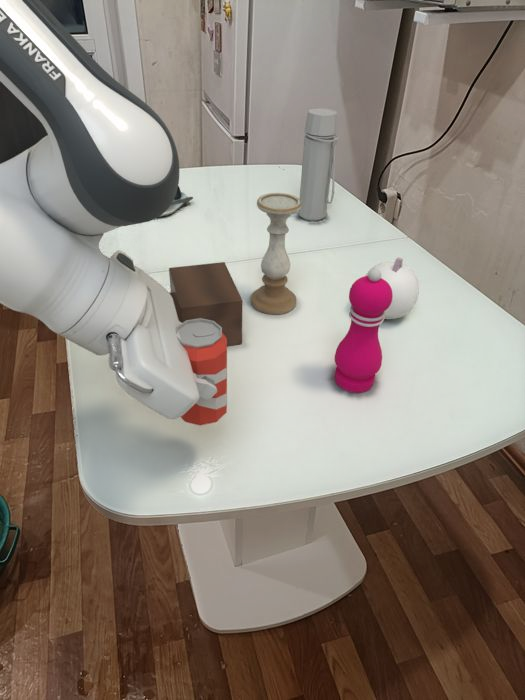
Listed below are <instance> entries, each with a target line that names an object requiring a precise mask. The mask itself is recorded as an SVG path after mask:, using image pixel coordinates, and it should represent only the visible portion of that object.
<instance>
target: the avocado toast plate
mask: <svg viewBox="0 0 525 700" xmlns="http://www.w3.org/2000/svg"><path fill="white" fill-rule="evenodd" d="M193 199H194V197H193V196H188V195H187V194H186V193H185V192H183V191H181V188H180V185H178V189H177V192H176V195H175V198H174V200H173V202H172V203H171V205H170V207H169V208H168V209H167V210H166V211H165V212H164V213H163V214H162V215H161V216H159V217H166V216H169V215H171V214H173V213H174V212H176V211H177V210H179V209H180V208H182V207H183V206H184V205H185V204H187V203H188V202H190V201H192V200H193ZM159 217H158V218H159Z"/></svg>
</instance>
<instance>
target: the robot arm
mask: <svg viewBox="0 0 525 700" xmlns="http://www.w3.org/2000/svg"><path fill="white" fill-rule="evenodd" d="M0 83H2V84H3V85H4V86H5V88H7V89H8V91H10V92H11V93H12V95H14V96H15V98H16V99H18V100H19V101H20V103H22V104H23V105H24V107H26V108H27V109H28V110H29V111H30V112H31V113H32V114H33V115H34V116H35V118H37V120H39V122H40V123H41V124H42V126H43V128H44V129H45V132H46V134H47V135H45V136H44V137H42V138H41V139H40V140H39V141H37V142H36V143H35V144H34V145H32V146H30V147H29V148H27V149H25V150H24V151H22V152H21V153H18V154H17V155H15V156H14V157H11V158H10V159H8V160H6V161H4V162H1V163H0V304H1V305H2V306H4V307H7V308H8V309H11V310H12V311H15V312H18V313H23V314H26V315H29V316H32V317H34V318H36V319H37V320H39V321H41V322H42V323H43V324H44V325H45V327H47V328H48V329H49V330H50V331H51V332H52V333H55V334H56V335H59V336H61V337H62V338H64V339H66V340H68V341H70V342H72V343H74V344H76V345H77V346H78V347H81V348H83V349H85V350H87V351H88V352H90V353H92V354H94V355H96V356H106V355H108V354H109V356H108V366H109V368H110V370H112V371H113V372H115V377H116V380H117V383H118V384H119V386H120V388H122V389H123V391H124V392H126V393H127V394H128V396H131V397H132V398H133V399H135V400H136V401H138V402H139V403H141V404H142V405H144V406H145V407H147V408H149V409H150V410H152V411H154V412H155V413H157V414H159V415H161V416H162V417H163V418H166V419H168V420H177V419H180V418H181V416H183V415H184V414H185V413H186V412H187V411H188V410H189V409H190V408H191V407H192V406H193V405H194V404H195V403H196V402H197V401H198V400H199V396H200V397H202V398H204V399H207V400H208V399H210V398H212V397H213V396H214V395H215V394H216V393H217V388H216V385H215V383H214V381H213V380H211V379H210V378H208V377H207V376H204V377H203V378H202V379H200V378H197V376H196V374H195V373H193V371H192V367H191V363H190V360H189V356H188V352H187V351H186V349H185V348H184V346H183V345H182V343H181V342H180V341H179V340H178V338H179V339H180V335H179V331H178V332H177V335H176V327H177V326H179V325H180V324H182V323H181V322H180V321H179V320H178V316H177V312H176V309H175V305H174V301H173V298H172V296H171V295H170V294H169V292H170V291H168V290H167V289H166V287H164V286H163V285H162V284H161V283H160V282H158V281H157V280H156V279H155V278H153V277H152V276H151V275H150V274H148V272H146V271H145V270H143V269H141V268H140V267H138V266H137V265H135V264H134V260H133V258H132V257H131V256H129V254H127V253H125V252H124V251H122V250H120V249H117V250H116V251H115V252H113V254H111V256H110V257H109V256H107V255H105V254H104V253H102V251H101V249H100V242H101V240H102V238H103V236H104V234H106V233H109V232H111V231H114V230H116V229H119V228H121V227H126V226H127V227H129V226H134V225H139V224H145V223H148V222H151V221H153V220H157V219H158V218H159V216H160V217H162V216H161V215H162V214H163V213H164V212H165V211H166V210H167V209H168V208H169V207H170V205H171V203H172V202H173V200H174V198H175V195H176V192H177V189H178V186H179V183H180V159H179V154H178V150H177V145H176V143H175V140H174V138H173V136H172V133H171V132H170V130H169V127H167V126H168V125H166V123H165V122H164V120H163V119H162V118H161V117H160V116H159V114H158V113H156V112H155V111H154V109H153V108H152V107H151V106H149V104H147V103H146V102H145V101H144V100H142V99H141V98H139V97H138V96H137V95H136V94H134V93H133V92H132V91H130V90H129V89H128V88H127V87H125V86H124V85H122V84H121V83H120V82H119V81H117V80H116V79H115V78H113V77H112V75H111V74H109V73H108V72H107V71H106V70H105V69H104V68H103V67H102V66H101V65H100V64H99V63H98V62H97V61H96V60H95V59H94V58H93V56H91V55H90V53H89V52H88V51H87V50H86V49H85V48H84V47H83V46H82V45H81V44H80V43H79V42H78V40H76V38H75V37H74V36H73V35H72V34H71V33H70V32H69V31H68V30H67V28H66V27H65V26H64V25H63V24H62V23H61V22H60V21H59V20H58V19H57V18H56V17H55V15H54V14H53V12H51V10H49V9H48V8H47V6H45V5H44V4H43V2H42V1H41V0H0ZM177 337H178V338H177Z"/></svg>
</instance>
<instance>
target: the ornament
mask: <svg viewBox="0 0 525 700" xmlns="http://www.w3.org/2000/svg"><path fill="white" fill-rule="evenodd" d="M372 269H378V270H379V271H380V272H381V278H382V279H384V280H385V281H387V282H388V283H389V285H390V287H391V289H392V294H393V297H392V302H391V305H390V306H389V308H388V309H387V310H385V316H384V320H395V319H399V318H403V317H404V316H406V315H407V314H409V313H410V312H411V311H412V309H413V308H414V307H415V305H416V303H417V302H418V298H419V294H420V283H419V279H418V277H417V275H416V273H415V272H414V271H413V269H412V268H410V267H409V266H408V265H406V264H404V263H403V258H401V257H396V258H395V261H384V262H380V263H378V264H375V265H373V266H372V267H371V268H369V270H368V271H367V273H366V274H365V276H368V273H369V271H370V270H372Z"/></svg>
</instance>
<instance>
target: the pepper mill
mask: <svg viewBox="0 0 525 700" xmlns="http://www.w3.org/2000/svg"><path fill="white" fill-rule="evenodd" d="M369 270H370V269H369ZM369 270H368V271H369ZM367 273H368V272H367ZM392 297H393V294H392V289H391V287H390V285H389V283H388V282H387V281H385V280H384V279H382V278H381V272H380V271H379V270H378V269H372V270H370V271H369V273H368V276H366V275H364V276H361V277H359V278H357V279H356V280H355V281H354V282H353V283H352V284H351V287H350V288H349V293H348V299H349V300H348V301H349V303H350V307H349V313H348V316H349V318H350V325H349V329H348V331H347V333H346V334H345V336H344V337H343V338H342V340H341V341H340V342H339V344H338V345H337V347H336V349H335V352H334V364H335V371H334V381H335V383H336V385H337V386H338V387H340V388H341V389H342V390H344V391H345V392H349V393H355V394H361V393H365V392H367V391H370V390H371V389H372V388H373V386H374V384H375V380H376V374H377V373H379V371H380V369H381V367H382V363H383V351H382V348H381V343H380V340H379V330H380V329H379V328H380V325H381V324H383V323H384V321H385V319H384V316H385V310H387V309H388V308H389V306H390V305H391V302H392Z"/></svg>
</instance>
